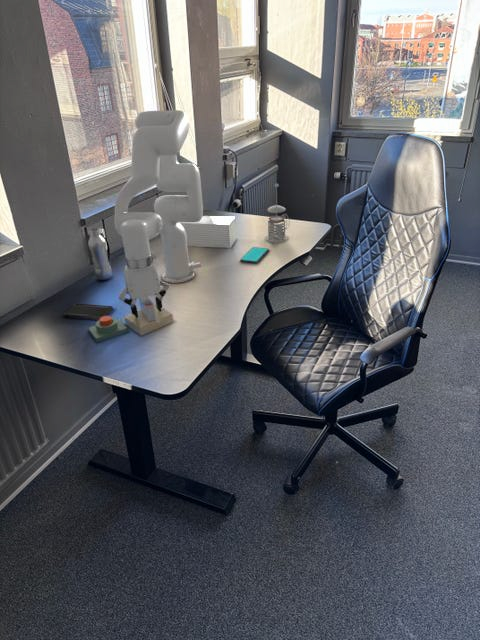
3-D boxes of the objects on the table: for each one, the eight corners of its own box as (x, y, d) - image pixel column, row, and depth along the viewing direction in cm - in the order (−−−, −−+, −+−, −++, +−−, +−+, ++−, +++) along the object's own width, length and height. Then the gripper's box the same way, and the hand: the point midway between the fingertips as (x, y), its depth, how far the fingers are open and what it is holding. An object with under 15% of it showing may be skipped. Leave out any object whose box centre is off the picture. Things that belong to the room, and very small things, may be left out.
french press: (275, 233, 218) (275, 179, 206) (294, 238, 211) (295, 183, 199) (261, 239, 212) (260, 184, 200) (281, 245, 205) (281, 188, 193)
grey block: (140, 310, 152) (137, 294, 149) (148, 308, 153) (145, 292, 150) (148, 322, 145) (145, 306, 142) (156, 320, 145) (153, 303, 143)
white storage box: (236, 239, 214) (235, 216, 208) (230, 248, 205) (228, 224, 199) (171, 236, 221) (168, 214, 216) (163, 244, 212) (160, 222, 207)
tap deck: (155, 309, 158) (154, 301, 157) (177, 323, 149) (176, 314, 148) (121, 323, 151) (119, 314, 149) (142, 338, 142) (140, 329, 140)
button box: (118, 321, 152) (117, 312, 150) (127, 332, 146) (126, 322, 144) (88, 331, 147) (86, 322, 145) (96, 342, 141) (94, 332, 140)
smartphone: (268, 248, 200) (256, 261, 188) (268, 250, 200) (256, 263, 188) (252, 246, 202) (239, 259, 190) (253, 248, 203) (240, 261, 191)
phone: (74, 303, 162) (113, 306, 159) (75, 306, 163) (114, 309, 159) (62, 314, 155) (103, 317, 152) (63, 317, 156) (103, 320, 153)
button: (110, 319, 147) (109, 314, 146) (113, 323, 144) (112, 319, 144) (99, 322, 145) (97, 317, 145) (102, 327, 143) (101, 322, 142)
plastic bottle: (109, 282, 179) (98, 232, 169) (93, 281, 180) (81, 232, 170) (116, 275, 185) (106, 227, 175) (100, 274, 186) (90, 226, 176)
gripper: (163, 251, 145) (169, 301, 154) (107, 263, 139) (118, 314, 148) (170, 259, 139) (177, 311, 148) (113, 271, 133) (123, 325, 142)
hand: (147, 312), depth 148 cm, fingers open, 7 cm apart
